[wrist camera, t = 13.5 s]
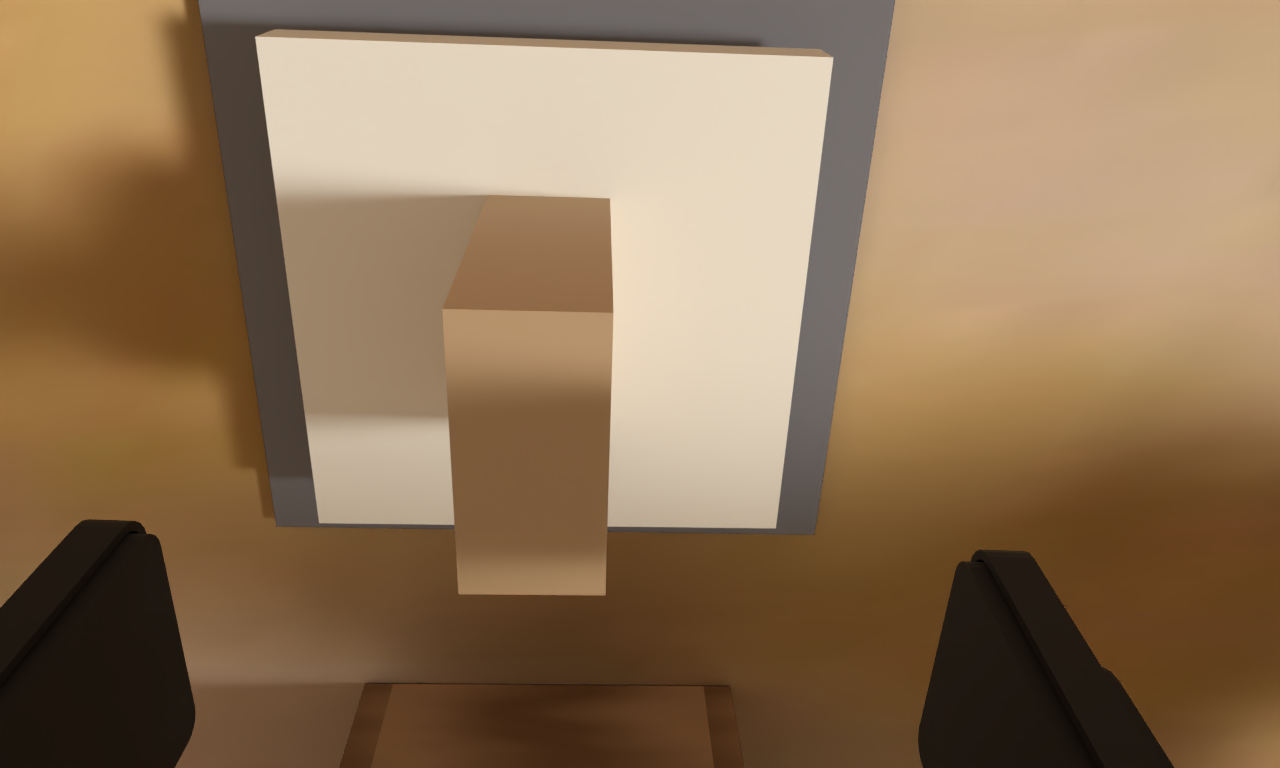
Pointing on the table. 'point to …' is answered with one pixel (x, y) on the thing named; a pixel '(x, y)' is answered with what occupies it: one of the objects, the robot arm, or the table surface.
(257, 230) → the mat
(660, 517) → the lid
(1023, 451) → the table surface
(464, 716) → the box
